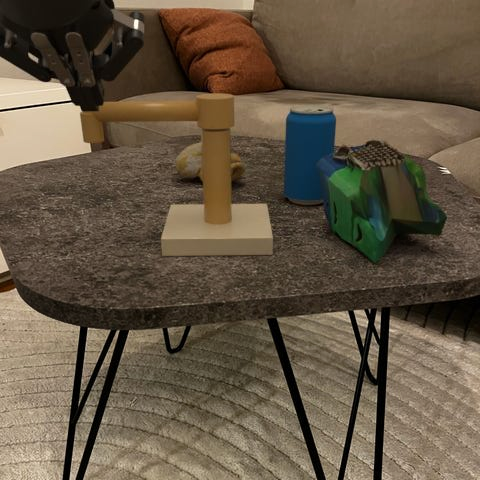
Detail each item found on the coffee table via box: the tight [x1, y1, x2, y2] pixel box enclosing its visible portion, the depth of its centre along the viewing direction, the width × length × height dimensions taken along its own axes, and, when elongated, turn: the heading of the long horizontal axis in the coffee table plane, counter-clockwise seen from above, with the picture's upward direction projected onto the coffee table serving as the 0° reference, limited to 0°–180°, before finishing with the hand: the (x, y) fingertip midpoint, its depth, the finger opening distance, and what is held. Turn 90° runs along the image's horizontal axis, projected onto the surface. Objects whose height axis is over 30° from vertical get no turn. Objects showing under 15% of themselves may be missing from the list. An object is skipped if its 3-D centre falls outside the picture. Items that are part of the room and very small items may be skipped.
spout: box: [79, 92, 235, 144], centre depth 63 cm, size 16×4×4 cm, turn 91°
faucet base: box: [160, 128, 274, 257], centre depth 66 cm, size 12×12×12 cm
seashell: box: [174, 141, 247, 183], centre depth 90 cm, size 10×6×15 cm
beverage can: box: [283, 104, 337, 206], centre depth 79 cm, size 6×6×12 cm
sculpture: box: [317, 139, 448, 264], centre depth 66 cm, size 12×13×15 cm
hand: (90, 103), depth 54 cm, fingers closed
